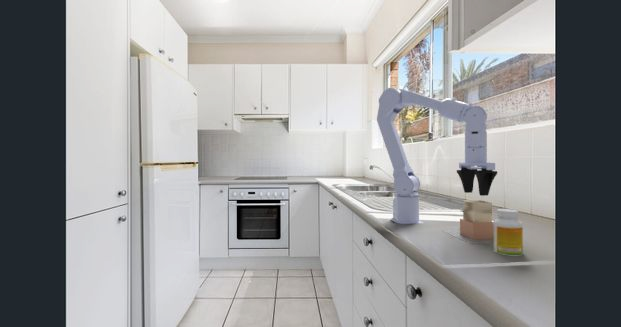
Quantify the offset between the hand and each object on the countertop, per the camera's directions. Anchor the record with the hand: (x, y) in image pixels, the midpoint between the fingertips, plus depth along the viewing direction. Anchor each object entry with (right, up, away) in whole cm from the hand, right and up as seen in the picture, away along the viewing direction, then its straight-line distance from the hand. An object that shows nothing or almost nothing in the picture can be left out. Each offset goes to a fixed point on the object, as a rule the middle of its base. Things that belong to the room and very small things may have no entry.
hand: (475, 193), depth 93 cm
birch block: (-5, -6, -10) cm, 13 cm away
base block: (-5, -10, -10) cm, 15 cm away
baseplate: (-5, -11, -10) cm, 16 cm away
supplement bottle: (-6, -11, -24) cm, 27 cm away
